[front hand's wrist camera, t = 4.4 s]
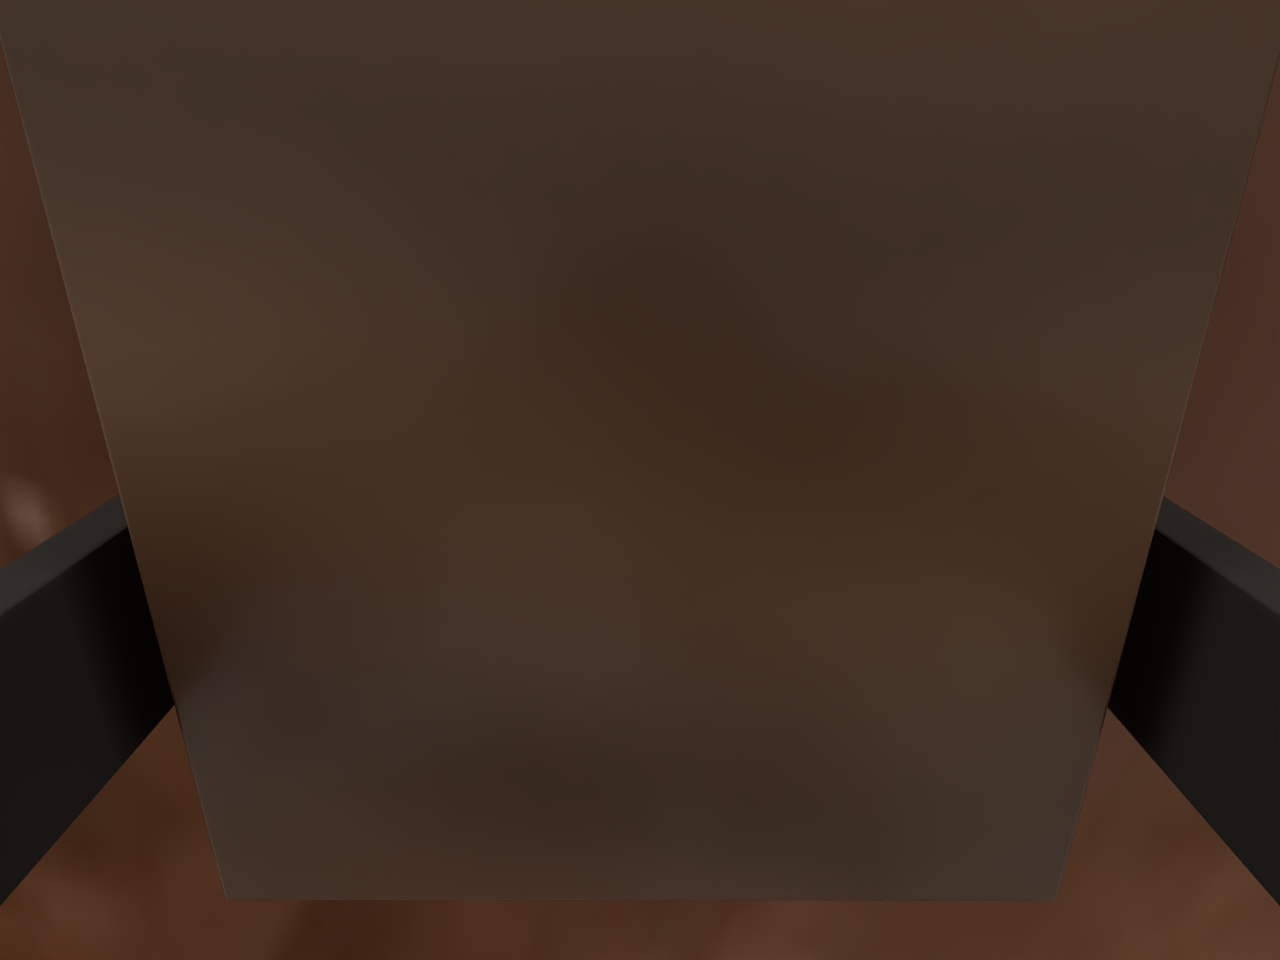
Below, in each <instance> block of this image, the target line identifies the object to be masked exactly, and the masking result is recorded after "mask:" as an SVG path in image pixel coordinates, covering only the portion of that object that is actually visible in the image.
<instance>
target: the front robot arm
mask: <svg viewBox="0 0 1280 960" xmlns="http://www.w3.org/2000/svg"><path fill="white" fill-rule="evenodd" d="M174 705H175V704H174V701H173V697H172V693H171V689H170V685H169V682H168V678H167V674H166V670H165V666H164V663H163V659H162V655H161V651H160V647H159V643H158V640H157V636H156V632H155V628H154V624H153V621H152V617H151V613H150V609H149V605H148V602H147V598H146V594H145V590H144V586H143V583H142V579H141V575H140V571H139V567H138V564H137V560H136V556H135V552H134V548H133V545H132V541H131V537H130V533H129V529H128V525H127V522H126V518H125V514H124V510H123V506H122V503H121V499H120V495H118V496H116V497H115V498H113V499H111V500H110V501H108V502H107V503H105V504H103V505H102V506H100V507H99V508H97V509H96V510H94V511H92V512H91V513H89V514H88V515H86V516H84V517H83V518H81V519H80V520H78V521H76V522H75V523H73V524H72V525H70V526H68V527H67V528H65V529H64V530H62V531H61V532H59V533H57V534H56V535H54V536H53V537H51V538H49V539H48V540H46V541H45V542H43V543H41V544H40V545H38V546H37V547H35V548H33V549H32V550H30V551H29V552H27V553H26V554H24V555H22V556H21V557H19V558H18V559H16V560H14V561H13V562H11V563H10V564H8V565H6V566H5V567H3V568H2V569H0V905H1V904H2V903H3V902H4V901H5V900H6V899H7V897H8V896H9V895H10V894H11V893H12V892H13V890H14V889H15V888H16V887H17V886H18V885H19V884H20V882H21V881H22V880H23V879H24V878H25V877H26V875H27V874H28V873H29V872H30V871H31V870H32V869H33V867H34V866H35V865H36V864H37V863H38V862H39V860H40V859H41V858H42V857H43V856H44V855H45V854H46V852H47V851H48V850H49V849H50V848H51V847H52V845H53V844H54V843H55V842H56V841H57V840H58V839H59V837H60V836H61V835H62V834H63V833H64V832H65V830H66V829H67V828H68V827H69V826H70V825H71V824H72V822H73V821H74V820H75V819H76V818H77V817H78V815H79V814H80V813H81V812H82V811H83V810H84V809H85V807H86V806H87V805H88V804H89V803H90V802H91V800H92V799H93V798H94V797H95V796H96V795H97V794H98V792H99V791H100V790H101V789H102V788H103V787H104V785H105V784H106V783H107V782H108V781H109V780H110V778H111V777H112V776H113V775H114V774H115V773H116V772H117V770H118V769H119V768H120V767H121V766H122V765H123V763H124V762H125V761H126V760H127V759H128V758H129V757H130V755H131V754H132V753H133V752H134V751H135V750H136V748H137V747H138V746H139V745H140V744H141V743H142V742H143V740H144V739H145V738H146V737H147V736H148V735H149V733H150V732H151V731H152V730H153V729H154V728H155V727H156V725H157V724H158V723H159V722H160V721H161V720H162V718H163V717H164V716H165V715H166V714H167V713H168V712H169V710H170V709H171V708H172V707H173V706H174ZM1108 708H1109V709H1110V710H1111V712H1112V713H1113V714H1114V715H1115V716H1116V717H1117V718H1118V720H1119V721H1120V722H1121V723H1122V724H1123V725H1124V727H1125V728H1126V729H1127V730H1128V731H1129V732H1130V733H1131V735H1132V736H1133V737H1134V738H1135V739H1136V740H1137V742H1138V743H1139V744H1140V745H1141V746H1142V747H1143V748H1144V750H1145V751H1146V752H1147V753H1148V754H1149V755H1150V757H1151V758H1152V759H1153V760H1154V761H1155V762H1156V763H1157V765H1158V766H1159V767H1160V768H1161V769H1162V770H1163V772H1164V773H1165V774H1166V775H1167V776H1168V777H1169V778H1170V780H1171V781H1172V782H1173V783H1174V784H1175V785H1176V787H1177V788H1178V789H1179V790H1180V791H1181V792H1182V794H1183V795H1184V796H1185V797H1186V798H1187V799H1188V800H1189V802H1190V803H1191V804H1192V805H1193V806H1194V807H1195V809H1196V810H1197V811H1198V812H1199V813H1200V814H1201V815H1202V817H1203V818H1204V819H1205V820H1206V821H1207V822H1208V824H1209V825H1210V826H1211V827H1212V828H1213V829H1214V830H1215V832H1216V833H1217V834H1218V835H1219V836H1220V837H1221V839H1222V840H1223V841H1224V842H1225V843H1226V844H1227V845H1228V847H1229V848H1230V849H1231V850H1232V851H1233V852H1234V854H1235V855H1236V856H1237V857H1238V858H1239V859H1240V860H1241V862H1242V863H1243V864H1244V865H1245V866H1246V867H1247V869H1248V870H1249V871H1250V872H1251V873H1252V874H1253V875H1254V877H1255V878H1256V879H1257V880H1258V881H1259V882H1260V884H1261V885H1262V886H1263V887H1264V888H1265V889H1266V890H1267V892H1268V893H1269V894H1270V895H1271V896H1272V897H1273V899H1274V900H1275V901H1276V902H1277V903H1278V904H1279V905H1280V569H1278V568H1277V567H1275V566H1274V565H1272V564H1270V563H1269V562H1267V561H1266V560H1264V559H1262V558H1261V557H1259V556H1258V555H1256V554H1254V553H1253V552H1251V551H1250V550H1248V549H1247V548H1245V547H1243V546H1242V545H1240V544H1239V543H1237V542H1235V541H1234V540H1232V539H1231V538H1229V537H1227V536H1226V535H1224V534H1223V533H1221V532H1219V531H1218V530H1216V529H1215V528H1213V527H1212V526H1210V525H1208V524H1207V523H1205V522H1204V521H1202V520H1200V519H1199V518H1197V517H1196V516H1194V515H1192V514H1191V513H1189V512H1188V511H1186V510H1184V509H1183V508H1181V507H1180V506H1178V505H1177V504H1175V503H1173V502H1172V501H1170V500H1169V499H1167V498H1165V497H1164V496H1163V499H1162V503H1161V507H1160V511H1159V514H1158V518H1157V522H1156V526H1155V529H1154V533H1153V537H1152V541H1151V545H1150V548H1149V552H1148V556H1147V560H1146V564H1145V567H1144V571H1143V575H1142V579H1141V582H1140V586H1139V590H1138V594H1137V598H1136V601H1135V605H1134V609H1133V613H1132V617H1131V620H1130V624H1129V628H1128V632H1127V635H1126V639H1125V643H1124V647H1123V651H1122V654H1121V658H1120V662H1119V666H1118V669H1117V673H1116V677H1115V681H1114V685H1113V688H1112V692H1111V696H1110V700H1109V704H1108Z"/></svg>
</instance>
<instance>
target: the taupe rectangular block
mask: <svg viewBox="0 0 1280 960" xmlns="http://www.w3.org/2000/svg"><path fill="white" fill-rule="evenodd" d="M0 42H1V46H2V50H3V53H4V57H5V61H6V65H7V69H8V73H9V76H10V80H11V84H12V88H13V92H14V95H15V99H16V103H17V107H18V111H19V114H20V118H21V122H22V126H23V130H24V133H25V137H26V141H27V145H28V149H29V152H30V156H31V160H32V164H33V168H34V171H35V175H36V179H37V183H38V187H39V191H40V194H41V198H42V202H43V206H44V210H45V213H46V217H47V221H48V225H49V229H50V232H51V236H52V240H53V244H54V248H55V251H56V255H57V259H58V263H59V267H60V270H61V274H62V278H63V282H64V286H65V289H66V293H67V297H68V301H69V305H70V309H71V312H72V316H73V320H74V324H75V328H76V331H77V335H78V339H79V343H80V347H81V350H82V354H83V358H84V362H85V366H86V369H87V373H88V377H89V381H90V385H91V388H92V392H93V396H94V400H95V404H96V407H97V411H98V415H99V419H100V423H101V427H102V430H103V434H104V438H105V442H106V446H107V449H108V453H109V457H110V461H111V465H112V468H113V472H114V476H115V480H116V484H117V487H118V491H119V495H120V499H121V503H122V506H123V510H124V514H125V518H126V522H127V525H128V529H129V533H130V537H131V541H132V545H133V548H134V552H135V556H136V560H137V564H138V567H139V571H140V575H141V579H142V583H143V586H144V590H145V594H146V598H147V602H148V605H149V609H150V613H151V617H152V621H153V624H154V628H155V632H156V636H157V640H158V643H159V647H160V651H161V655H162V659H163V663H164V666H165V670H166V674H167V678H168V682H169V685H170V689H171V693H172V697H173V701H174V704H175V708H176V712H177V716H178V720H179V723H180V727H181V731H182V735H183V739H184V742H185V746H186V750H187V754H188V758H189V761H190V765H191V769H192V773H193V777H194V781H195V784H196V788H197V792H198V796H199V800H200V803H201V807H202V811H203V815H204V819H205V822H206V826H207V830H208V834H209V838H210V841H211V845H212V849H213V853H214V857H215V860H216V864H217V868H218V872H219V876H220V879H221V883H222V887H223V891H224V895H225V898H226V899H228V900H1056V899H1057V897H1058V893H1059V889H1060V885H1061V881H1062V878H1063V874H1064V870H1065V866H1066V863H1067V859H1068V855H1069V851H1070V847H1071V844H1072V840H1073V836H1074V832H1075V828H1076V825H1077V821H1078V817H1079V813H1080V810H1081V806H1082V802H1083V798H1084V794H1085V791H1086V787H1087V783H1088V779H1089V775H1090V772H1091V768H1092V764H1093V760H1094V757H1095V753H1096V749H1097V745H1098V741H1099V738H1100V734H1101V730H1102V726H1103V722H1104V719H1105V715H1106V711H1107V707H1108V704H1109V700H1110V696H1111V692H1112V688H1113V685H1114V681H1115V677H1116V673H1117V669H1118V666H1119V662H1120V658H1121V654H1122V651H1123V647H1124V643H1125V639H1126V635H1127V632H1128V628H1129V624H1130V620H1131V617H1132V613H1133V609H1134V605H1135V601H1136V598H1137V594H1138V590H1139V586H1140V582H1141V579H1142V575H1143V571H1144V567H1145V564H1146V560H1147V556H1148V552H1149V548H1150V545H1151V541H1152V537H1153V533H1154V529H1155V526H1156V522H1157V518H1158V514H1159V511H1160V507H1161V503H1162V499H1163V495H1164V492H1165V488H1166V484H1167V480H1168V476H1169V473H1170V469H1171V465H1172V461H1173V458H1174V454H1175V450H1176V446H1177V442H1178V439H1179V435H1180V431H1181V427H1182V423H1183V420H1184V416H1185V412H1186V408H1187V405H1188V401H1189V397H1190V393H1191V389H1192V386H1193V382H1194V378H1195V374H1196V370H1197V367H1198V363H1199V359H1200V355H1201V352H1202V348H1203V344H1204V340H1205V336H1206V333H1207V329H1208V325H1209V321H1210V318H1211V314H1212V310H1213V306H1214V302H1215V299H1216V295H1217V291H1218V287H1219V283H1220V280H1221V276H1222V272H1223V268H1224V265H1225V261H1226V257H1227V253H1228V249H1229V246H1230V242H1231V238H1232V234H1233V230H1234V227H1235V223H1236V219H1237V215H1238V212H1239V208H1240V204H1241V200H1242V196H1243V193H1244V189H1245V185H1246V181H1247V177H1248V174H1249V170H1250V166H1251V162H1252V159H1253V155H1254V151H1255V147H1256V143H1257V140H1258V136H1259V132H1260V128H1261V124H1262V121H1263V117H1264V113H1265V109H1266V106H1267V102H1268V98H1269V94H1270V90H1271V87H1272V83H1273V79H1274V75H1275V71H1276V68H1277V64H1278V60H1279V56H1280V0H0Z"/></svg>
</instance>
